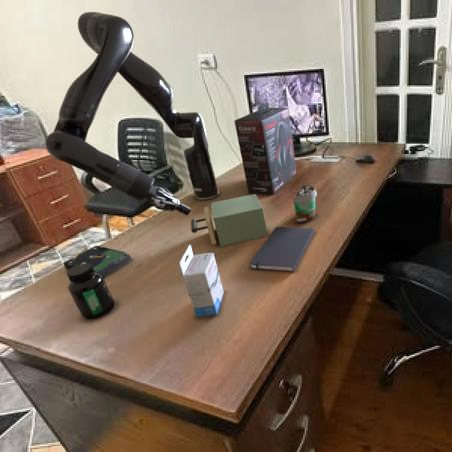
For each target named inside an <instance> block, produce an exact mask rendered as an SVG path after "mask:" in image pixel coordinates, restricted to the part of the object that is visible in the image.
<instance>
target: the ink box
mask: <svg viewBox="0 0 452 452" xmlns="http://www.w3.org/2000/svg"><path fill="white" fill-rule="evenodd" d="M178 263H179V264H178V265H179V269H180V272H181V275H182V278H183V282H184V285H185V288H186V290H187V294H188V296H189V299H190V302H191V305H192V306H191V307H192V308H193V311H194V315H195V318H201V317H210V316H217V315H218V313H219V310H220V306H221V304H222V300H223V297H224V293H225V291H224V288H223V284H222V280H221V277H220V272H219V269H218V265H217V261H216V258H215V253H214V252H207V253H199V254H194V252H193V248H192V245H191V244H188V246H187V248H186V250H185V252H184V253H183V254H182V257H181V259H180V260H179V262H178Z"/></svg>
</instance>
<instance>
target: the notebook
mask: <svg viewBox="0 0 452 452" xmlns="http://www.w3.org/2000/svg"><path fill="white" fill-rule="evenodd" d="M314 234H315V228H313V227H312V228H311V227H310V228H309V227H292V226H289V227H287V226H276V227H275V228H274V229H273V230H272V231H271V232H270V234H269V236H268V237H267V239H266V240H265V241H264V242H263V243H262V245H261V246H260V248H259V249H258V251H257V252H256V253H255V255H254V256H253V257H252V259H251V260H250V261H249V265H250V269H251V270H252V269H253V270H266V271H276V272H277V271H279V272H290V273H291V272H293V273H294V272H295V271H296V268H297V267H298V265H299V263H300V261H301V259H302V258H303V255H304V253H305V251H306V249H307V248H308V245H309V243H310V242H311V240H312V238H313V236H314Z"/></svg>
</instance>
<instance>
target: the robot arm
mask: <svg viewBox="0 0 452 452" xmlns="http://www.w3.org/2000/svg"><path fill="white" fill-rule="evenodd" d="M77 29H78V32H79V36H80V37H81V39H82V41H84V43H85V44H86V46H87V47H89V48H90V49H91V50H92V51H93V52H94V53H95V54H97V55H96V56H95V58H94V60H93V62H92V63H91V64H90V65H89V66H88V67H87V68H86V69H85V70H84V71H83V72H82V73H81V74H80V75H79V76H78V77H76V78H75V79H74V80H73V81H72V83H71V84H70V86H69V87H68V88H67V90H66V93H65V95H64V98H63V100H62V103H61V105H60V108H59V111H58V119H57V122H56V125H55V127H54V129H53V132H51V133H49V134H48V135H47V136H46V138H45V141H44V146H45V149H46V151H47V152H48V154H49V155H50V156H51V157H53V158H54V159H55V160H58V161H60V162H64V163H66V164H68V165H70V166H72V167H74V168H77V169H79V170H81V171H83V172H85V173H86V174H87V175H89V176H90V177H92V178H94V179H96V180H98V181H100V182H101V183H104V184H106V185H108V186H110V187H111V188H112V189H114V190H116V191H118V192H120V193H122V194H124V195H126V196H127V197H130V198H132V199H134V200H136V201H138V202H142V201H144V199H147V200H148V201H149V202H150V203H152V204H154V205H156V206H155V209H157V210H161V211H166V212H171V213H174V211H177V212H179V213H181V214H183V216H189V215H190V213H191V212H192V208H191V207H190V206H188V205H186V204H183V203H182V202H181V201H180V200H179V198H178V197H177V196H176V194H174V193H172V192H171V191H170V190H169V189H168V188H167V187H165V186H162V187H160V186H158V185H154V184H155V182H156V181H155V178H154V177H153V176H150V175H148V174H147V173H145V172H144V171H143V172H142V171H140V170H139V169H138V168H136V167H134V166H132V165H130V164H127V163H125V162H123V161H121V160H119V159H117V158H115V157H113V156H112V155H110V154H108V153H105V152H103V151H101V150H100V149H98V148H96V147H94V146H93V145H91V144H90V143H88V142H87V141H86V140H87V136H88V133H89V131H90V128H91V126H92V124H93V122H94V120H95V118H96V115H97V112H98V110H99V107H100V104H101V102H102V100H103V97H104V96H105V94H106V92H107V90H108V88H109V86H110V85H111V84H112V82H113V80H114V79H115V77H116V75H117V74H119V75H120V76H121V77H122V79H124V80H125V82H127V83H128V85H130V86H131V87H132V88H133V90H134V91H135V92H136V93H137V94H138V95H139V96H140V97H141V98H142V99H143V100H144V101H145V102H146V103H147V104H148V105H149V107H151V108H152V109H153V110H154V111H155V113H156V114H157V115H158V116H159V117H160V118H161V119H162V120H163V122H164V123H165V124H166V126H167V127H168V128H169V130H170V131H171V132H172V133H173V134H174V136H175V137H177V138H179V139H193V144H191V145H189V146H187V147H185V148H184V149H183V150H182V151H183V152H182V153H183V156H184V160H185V164H186V167H187V170H188V171H187V172H188V174H189V175H188V176H189V179H190V182H191V183H190V184H191V187H192V191H193V194H194V197H195V199H196V200H199V201H207V200H212V199H214V198H216V197H218V196H219V195H220V191H219V187H218V183H217V179H216V175H215V171H214V167H213V162H212V159H211V155H210V151H209V141H208V135H207V131H206V130H207V129H206V125H205V121H204V119H203V116H202V115H201V114H200V113H199V112H197V111H190V112H187V111H186V112H179V111H177V110H176V109H175V108H174V107H173V102H174V101H173V100H174V92H173V90H172V86H171V85H170V84H169V83H168V81H167V80H166V79H165V78H164V76H163V75H162V74H161V73H160V72H159V71H158V70H157V69H156V68H155V67H154V66H153V65H151V64H149V63H148V62H146V61H145V60H144V59H142V58H141V57H139V56H137V55H136V54H134V53H133V52H132V49H133V47H134V44H135V43H134V41H135V33H134V30H133V27H132V26H131V24H130V23H129V22H128V21H127V19H125V18H123V17H121V16H118V15H113V14H109V13H104V12H98V11H85V12H84V13H82V14H80V15H79V17H78V19H77Z"/></svg>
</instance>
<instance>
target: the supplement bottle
mask: <svg viewBox="0 0 452 452" xmlns="http://www.w3.org/2000/svg"><path fill="white" fill-rule="evenodd" d="M66 276H67V278H68V281H69V284H68V286H67V290H68V293H69V294H70V296H71V297H72V299H73V301H74V303H75V304H76V308H77V309H78V310H79V313H80V314H81V316H82V317H83V319H86V320H89V321H90V320H97V319H100V318H102V317H105V316H107V315H108V314H109V313H111V312H112V311H113V309H114V308H115V305H116V303H115V300H114V298H113V296H112V294H111V291H110V288H109V287H108V284H107V283H106V281H105V279H104V278H105V277H103V276H102V275H101V274H99V273H96V272H95V271H94V269H93V267H92V265H91V264H81V265H77V266H75V267H73V268H71V269H70V270H67V272H66Z"/></svg>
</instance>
